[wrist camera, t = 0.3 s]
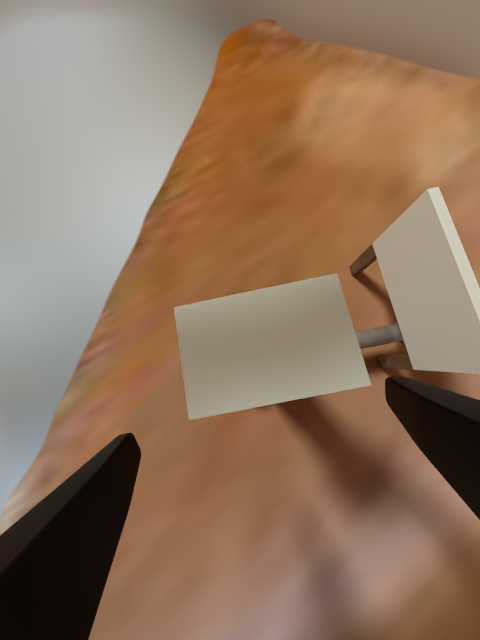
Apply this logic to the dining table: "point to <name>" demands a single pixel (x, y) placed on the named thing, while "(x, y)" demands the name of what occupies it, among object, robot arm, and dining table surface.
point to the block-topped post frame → (272, 346)
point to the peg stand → (383, 360)
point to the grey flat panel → (432, 287)
